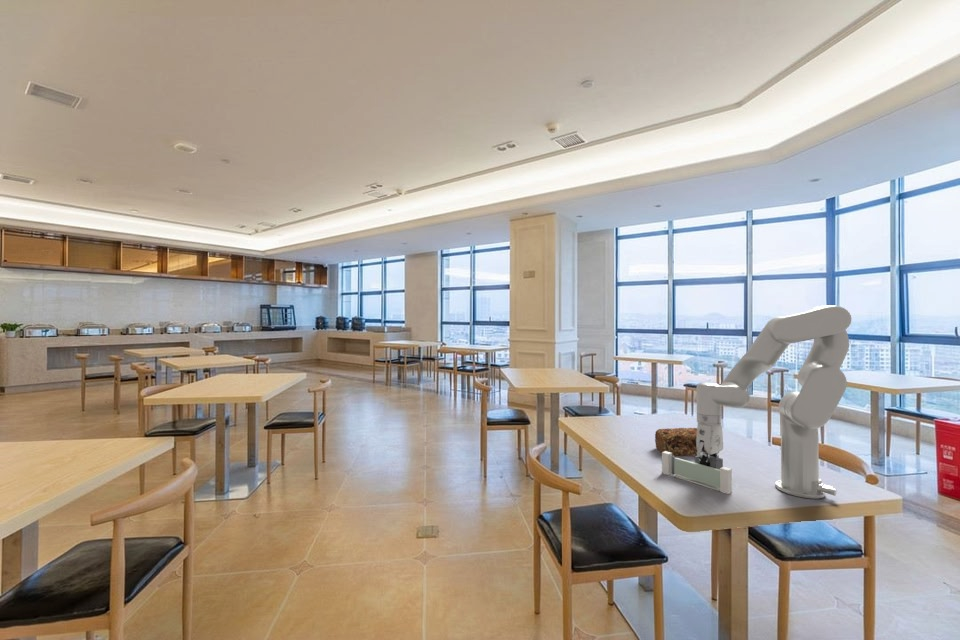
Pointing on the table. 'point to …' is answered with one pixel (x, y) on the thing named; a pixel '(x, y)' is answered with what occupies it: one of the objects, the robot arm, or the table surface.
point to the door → (695, 471)
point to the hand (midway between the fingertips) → (709, 470)
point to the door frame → (724, 481)
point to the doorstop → (712, 461)
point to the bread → (677, 441)
